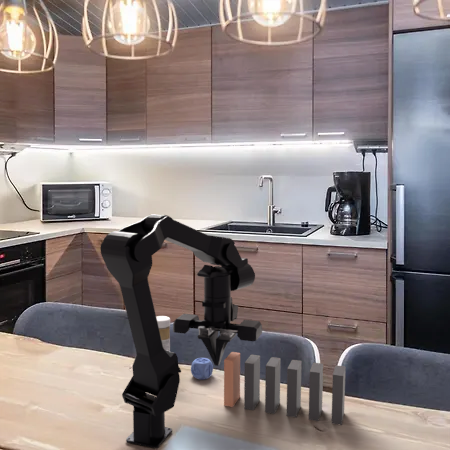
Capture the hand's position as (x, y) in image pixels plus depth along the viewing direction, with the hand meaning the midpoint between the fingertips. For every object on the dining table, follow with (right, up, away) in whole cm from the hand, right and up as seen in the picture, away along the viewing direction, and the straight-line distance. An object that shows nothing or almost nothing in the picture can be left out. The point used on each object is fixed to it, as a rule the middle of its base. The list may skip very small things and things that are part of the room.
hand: (217, 365), depth 104 cm
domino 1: (+3, -8, 0) cm, 8 cm away
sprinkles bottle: (-14, -6, +16) cm, 22 cm away
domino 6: (+25, -9, -8) cm, 27 cm away
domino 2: (+8, -8, -2) cm, 11 cm away
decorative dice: (-4, -7, +13) cm, 15 cm away
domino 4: (+16, -8, -5) cm, 19 cm away
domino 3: (+12, -8, -3) cm, 15 cm away
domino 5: (+20, -8, -6) cm, 23 cm away
